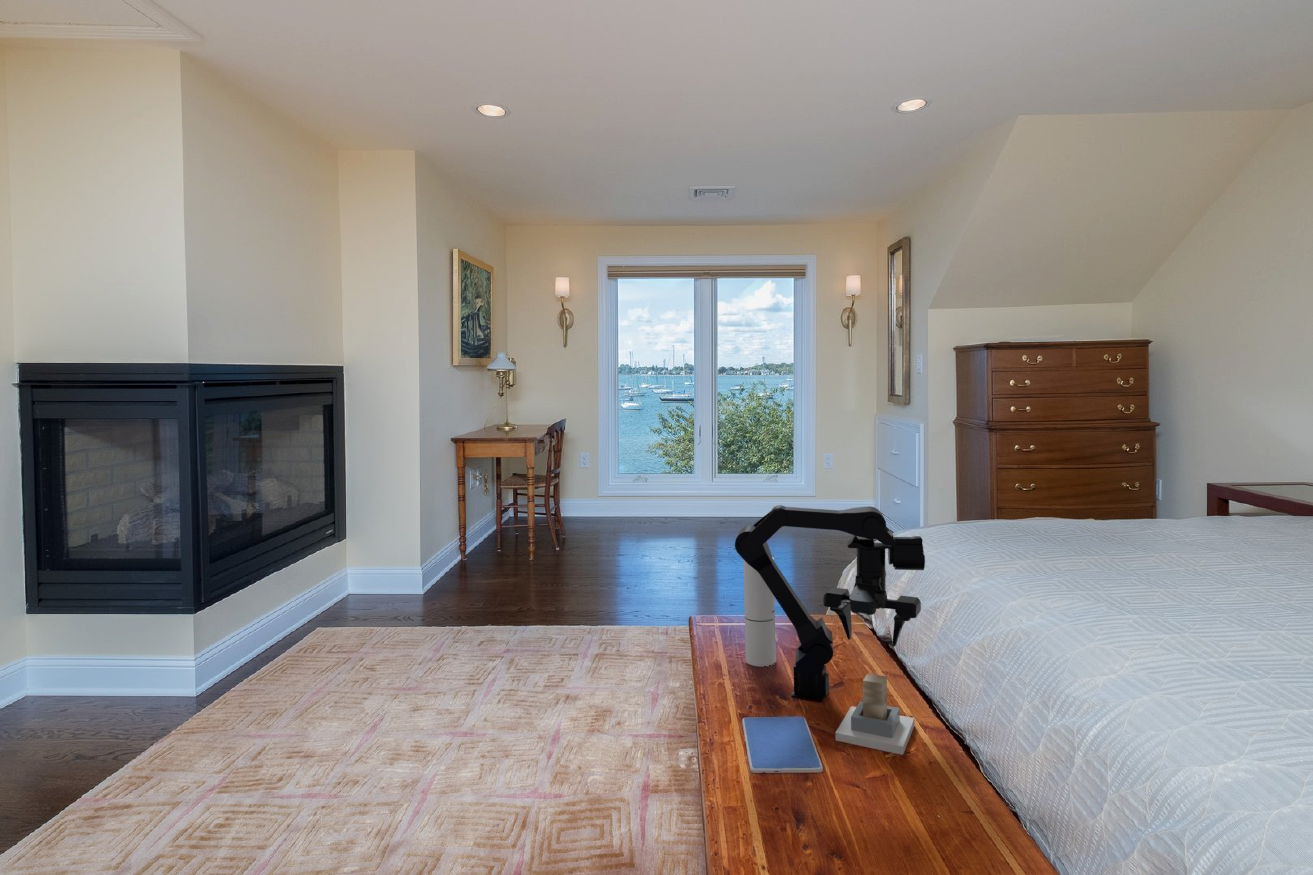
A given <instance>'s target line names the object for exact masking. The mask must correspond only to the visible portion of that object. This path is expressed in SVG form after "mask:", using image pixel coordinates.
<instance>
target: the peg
mask: <svg viewBox="0 0 1313 875" xmlns="http://www.w3.org/2000/svg"><path fill="white" fill-rule="evenodd" d="M887 681H888V676H886V675H885V676H884V675H879V674H873V673H866V674H865V676H864V677H863V680H862V701H863V716H865V717H870V718H875V719H880V720H885V721H887V706H888V682H887Z"/></svg>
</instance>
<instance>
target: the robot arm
mask: <svg viewBox="0 0 1313 875" xmlns="http://www.w3.org/2000/svg"><path fill="white" fill-rule="evenodd" d="M782 527H788V528H791V527H792V528H805V529H817V530H828V531H840V532H843V533H847V534H850V535H852V538H850V539H849V540H847V542H846V545H847V548H848V549H855V550H856V552H855V553H856V575H855V578H854V579H855V580H854V581H855V583H854V586H853V587H852V590H851V592H850V591H849V589H848V588H842V587H841V588H840V587H833V586H832V587H831V588H830V589H829V590H828V591H827V592H825V594H823V602H822V603H823V606H824V607H826V608H829V611H831V612H834V613H835V614H836V615H837V616H838V619H839V620H840V622H841V624H842V627H843V630H844V633H845V636H846V638H847V640H851V639H852V633H853V632H852V631H853V629H852V613H854V614H866V615H868V616H873V615H875V614H876V612H877V610H880V609H884V610H885V609H887V610H894V613H895V615H894V616H893V623H894V624H893V634H892V647H896V646H897V643H898V641H899V638H900V636H901V631H902V630H903V627H904V625H905V622H910V621H911V619H916V618H917V617H918V616H919V614H920V613H921V611H922V602H921V599H919V597H915V596H909V595H900V596H899V597H898V598H897V599H891V598H888V595H887V594H888V593H887V589H886V587H887V586H886V584H887V582H886V580H887V579H886V577H887V570H886V550H887V561H888V562H887V563H888V565H890V566H891V565H892V567H893V569H894V570H896V571H897V570H898V571H899V570H900V571H925V567H926V556H925V554H924V553H925V552H924V544H923V538H922V536H920V535H919V536H918V535H913V536H894V534H893V532H892V531H891V530H889V528H888V527H887V522H886V519H885V517H884V515H883V513H882V512H881V510H879V509H878V508H876V507H874V506H860V507H859V506H858V507H852V508H846V509H840V510H836V509H822V508H808V507H794V506H784V505H782V504H780V505H776V506H774V507H773V508H772V509H771V510H770V511H769V512H768V513H766V514H765V515H764V516H762V517H761V518H760V519H759V520H757V521H756V522H755V523H754V524H753V525H746V526H745V527H743V528H741V529H740V531H739V532H738V534H737V536H736V537H735V541H734V550H735V551H736V553H737V554H738V555H739V556H740V557H741V559H743V561H744V560H745V561H746V563H747V564H749V565H750V566H751V567H752V568H753V569H755V570H756V571H757V572H758V573H759V574H760V576H761V577H762V579H763V580H764V582H765V583H766V585H767V586H768V588H769V589H770V591H771V592H772V594H773V595H774V597H775V601H777V603H778V605H779V606H780V608H781V609H782V610H783V613H785V615H786V617H787V618H788V620H789V621H790V623H791V624H792V626H793V628H794V629H795V631H796V634H797V637H798V638H797V639H798V640H799V643H800V645H799V646H798V647H796V649H795V664H793V691H792V693H791V698H795V699H796V698H797V699H801V700H806V701H811V702H817V703H822V702H823V701H824V699H825V698H826V697H827V696H828V694H829V693H830V674H829V673H828V672H827V664H828V663H830V662H831V660H832V659H833V656H834V641H833V640H834V639H833V631H832V630H831V629H829V627H828V626H827V624H826V622H825V620H824V618H823V617H822V616H821V617H820V618H819V619H815V617H813V616H811V614H810V613H809V612H808V610H807V609H806V607H805V606H804V604H803V602H802V601H801V599H800V598H799V596H798V595H797V593H796V592H795V591H794V589H793V588H792V586H791V584H790V583H789V581H788V579H787V578H786V577H785V575H784V574H783V573H782V570H781V569H780V568H779V566H778V565H777V564H776V562H775V559H774V560H773V554H772V552H771V548H770V547H769V544H768V542H767V541H769V540H771V538H772V537H773V535H775V534H776V533H777V532H778V531H779V530H780V529H781V528H782ZM874 540H876V541H874ZM877 541H878V542H877Z"/></svg>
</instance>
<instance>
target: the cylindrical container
mask: <svg viewBox="0 0 1313 875" xmlns="http://www.w3.org/2000/svg"><path fill="white" fill-rule="evenodd" d="M772 557H773V556H772ZM773 560H774V561H775V558H774V557H773ZM743 588H744V589H743V590H744V593H743V594H744V595H743V596H744V598H743V599H744V629H745V630H744V633H745V635H744V637H745V639H744V640H745V662H746V663H747V664H748V665H750V666H754V667H758V668H759V667H760V668H762V667H763V668H765V667H764V666H766V667H770V666H769V665H771V666H773V665H774V664H773V663H775V662H776V663H777V651H776V650H777V649H776V647H777V645H776V641H777V640H776V604H775V603H776V602H775V601H776V598H775V597H774V595H773V594H772V592H771V591H770V589H769V588H768V586H767V585H766V583H765V582H764V580H763V579H762V577H761V576H760V574H759V573H758V572H757V571H756V570H755V569H753V568H752V567H751V566H750V565H749V564H747V563H746V561H745V560H744V559H743ZM776 663H775V664H776ZM772 664H773V665H772Z"/></svg>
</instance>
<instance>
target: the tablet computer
mask: <svg viewBox="0 0 1313 875" xmlns="http://www.w3.org/2000/svg"><path fill="white" fill-rule="evenodd" d="M741 724H742V729H743V735H744V740H745V746H746V753H747V759H748V765H749V766H748V767H749V771H750V772H751V773H754V774H763V773H764V774H767V773H768V774H772V773H773V774H774V773H775V774H779V773H780V774H782V773H784V774H787V773H789V774H790V773H793V774H794V773H796V774H797V773H802V774H803V773H804V774H805V773H822V772H823V771H824V766H823V764H822V761H821V758H820V756H819V754H818V750H817V747H816V744H815V740H814V739H813V736H812V734H811V730H810V728H809V725H808V722H807V719H806V718H805V717H804V716H759V717H757V716H756V717H752V716H749V717H743V718H742V719H741Z"/></svg>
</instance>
